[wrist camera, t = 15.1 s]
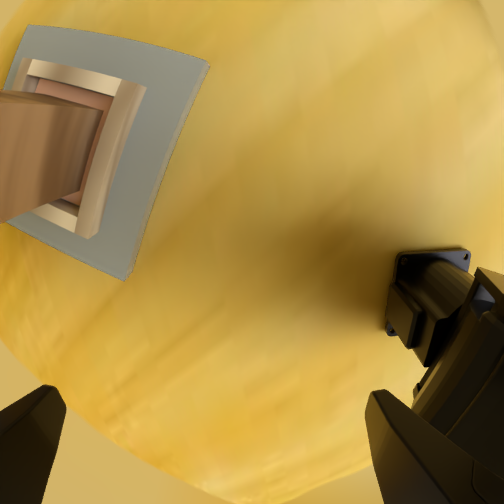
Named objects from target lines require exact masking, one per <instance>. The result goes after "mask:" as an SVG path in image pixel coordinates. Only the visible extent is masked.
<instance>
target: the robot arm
mask: <svg viewBox="0 0 504 504" xmlns="http://www.w3.org/2000/svg"><path fill="white" fill-rule="evenodd" d="M465 254H466V255H465ZM464 255H465V257H464ZM463 257H464V258H463ZM403 258H405V261H404V262H402V263H401V260H402V259H403ZM470 258H471V253H470V252H469V251H468V250H466V249H451V250H433V251H415V252H401V253H399V254H398V255H397V256H396V259H395V268H394V275H393V282H392V283H391V285H390V288H389V295H388V302H387V308H386V314H385V316H386V318H387V321H386V326H385V331H386V333H387V335H388V336H399V338H400V339H401V341H402V342H403V344H404V346H405V347H406V348H407V349H413V351H414V352H415V354H416V355H417V357H418V359H419V360H420V362H421V363H422V365H423V366H424V367H429V368H428V370H427V371H426V373H425V375H424V376H423V378H422V379H421V381H420V382H419V383H417V384H416V386H415V388H414V389H413V397H414V400H413V404H412V407H411V409H410V408H409V407H408V406H406V405H405V404H404V403H402V402H401V401H400V400H399V399H397V398H396V397H395V396H394V395H392V394H391V393H390V392H389V391H387V390H385V389H382V390H376V391H372V392H371V393H370V395H369V399H368V402H367V406H366V410H365V421H366V426H367V432H368V438H369V444H370V450H371V456H372V461H373V466H374V470H375V473H376V477H377V480H378V484H379V487H380V491H381V494H382V498H383V501H384V504H504V275H502V274H499V273H496V272H493V271H490V270H487V269H484V268H481V267H477V269H476V272H475V274H474V276H475V278H474V277H473V276H472V275H471V274H469V273H468V269H469V263H470ZM392 328H394V329H393V330H391V329H392ZM390 330H391V331H390ZM65 414H66V404H65V402H64V401H63V399H62V397H61V395H60V393H59V391H58V390H57V388H56V387H55V386H51V385H42V386H41V387H39V388H37V389H36V390H34V391H32V392H31V393H29V394H27V395H26V396H24V397H23V398H21V399H19V400H18V401H16V402H14V403H13V404H11V405H9V406H8V407H6V408H5V409H3V410H2V411H0V504H41V503H42V499H43V496H44V492H45V489H46V485H47V482H48V478H49V475H50V472H51V468H52V465H53V462H54V459H55V456H56V453H57V449H58V445H59V440H60V436H61V431H62V427H63V423H64V419H65Z"/></svg>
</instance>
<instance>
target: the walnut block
mask: <svg viewBox="0 0 504 504" xmlns="http://www.w3.org/2000/svg"><path fill="white" fill-rule="evenodd" d="M103 112H104V111H103V110H99V109H96V108H93V107H89V106H86V105H83V104H79V103H76V102H72V101H69V100H65V99H62V98H58V97H54V96H50V95H47V94H41V93H32V92H22V91H11V90H0V224H1V223H3V222H5V221H7V220H9V219H12V218H14V217H16V216H18V215H21V214H23V213H25V212H28V211H30V210H32V209H35V208H37V207H39V206H42V205H44V204H47V203H49V202H52V201H54V200H57V199H59V198H62V197H64V196H67V195H70V194H72V193H75V192H78V191H80V187H81V183H82V179H83V175H84V172H85V168H86V164H87V161H88V158H89V154H90V151H91V148H92V144H93V141H94V138H95V135H96V132H97V129H98V126H99V123H100V120H101V117H102V115H103Z"/></svg>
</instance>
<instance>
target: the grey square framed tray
mask: <svg viewBox="0 0 504 504" xmlns="http://www.w3.org/2000/svg"><path fill="white" fill-rule="evenodd" d="M209 68H210V66H209V64H208V62H207V61H206V60H203V59H200V58H197V57H194V56H191V55H187V54H184V53H181V52H177V51H174V50H170V49H167V48H163V47H159V46H155V45H152V44H148V43H143V42H139V41H135V40H131V39H126V38H121V37H116V36H111V35H106V34H101V33H95V32H89V31H83V30H76V29H68V28H60V27H51V26H40V25H28V26H27V28H26V31H25V33H24V35H23V37H22V40H21V42H20V44H19V47H18V49H17V52H16V54H15V57H14V59H13V62H12V65H11V67H10V70H9V73H8V76H7V79H6V82H5V85H4V88H3V90H11V91H22V92H32V93H41V94H47V95H50V96H54V97H58V98H62V99H65V100H69V101H72V102H76V103H79V104H83V105H86V106H89V107H93V108H96V109H99V110H103V111H104V112H103V115H102V117H101V120H100V123H99V126H98V129H97V132H96V135H95V138H94V141H93V144H92V148H91V151H90V154H89V158H88V161H87V164H86V168H85V172H84V175H83V179H82V183H81V187H80V191H78V192H75V193H72V194H70V195H67V196H64V197H62V198H59V199H57V200H54V201H52V202H49V203H47V204H44V205H42V206H39V207H37V208H35V209H32V210H30V211H28V212H25V213H23V214H21V215H18V216H16V217H14V218H12V219H9V220H7V221H5V222H7V223H8V224H10V225H12V226H14V227H16V228H17V229H19V230H21V231H23V232H25V233H27V234H29V235H30V236H32V237H34V238H36V239H38V240H40V241H42V242H44V243H46V244H47V245H49V246H51V247H53V248H55V249H57V250H59V251H61V252H63V253H65V254H67V255H69V256H71V257H73V258H75V259H77V260H79V261H81V262H83V263H86V264H88V265H90V266H92V267H94V268H96V269H98V270H100V271H102V272H104V273H107V274H109V275H111V276H113V277H115V278H118V279H120V280H122V281H125V280H126V279H127V278H128V277H129V275H130V274H131V273H132V271H133V268H134V264H135V261H136V257H137V254H138V251H139V247H140V244H141V241H142V238H143V234H144V231H145V228H146V225H147V222H148V219H149V216H150V213H151V210H152V207H153V204H154V201H155V198H156V195H157V192H158V190H159V187H160V184H161V181H162V179H163V176H164V173H165V170H166V168H167V165H168V163H169V160H170V157H171V155H172V152H173V150H174V147H175V145H176V142H177V140H178V137H179V135H180V132H181V130H182V128H183V125H184V123H185V120H186V118H187V116H188V113H189V111H190V109H191V107H192V104H193V102H194V100H195V98H196V95H197V93H198V91H199V89H200V87H201V85H202V82H203V80H204V78H205V76H206V74H207V72H208V70H209Z"/></svg>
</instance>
